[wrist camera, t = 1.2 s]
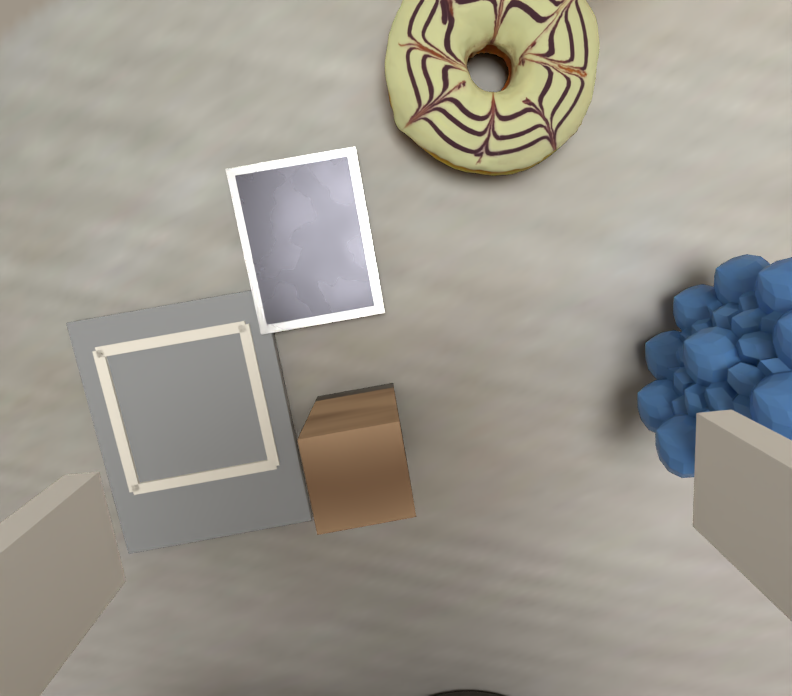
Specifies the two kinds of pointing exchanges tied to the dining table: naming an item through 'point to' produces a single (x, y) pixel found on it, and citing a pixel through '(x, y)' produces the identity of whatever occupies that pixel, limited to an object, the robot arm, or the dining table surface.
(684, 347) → the grapes
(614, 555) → the dining table surface
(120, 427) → the board
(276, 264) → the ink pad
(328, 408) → the brown wooden block
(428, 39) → the decorated donut
